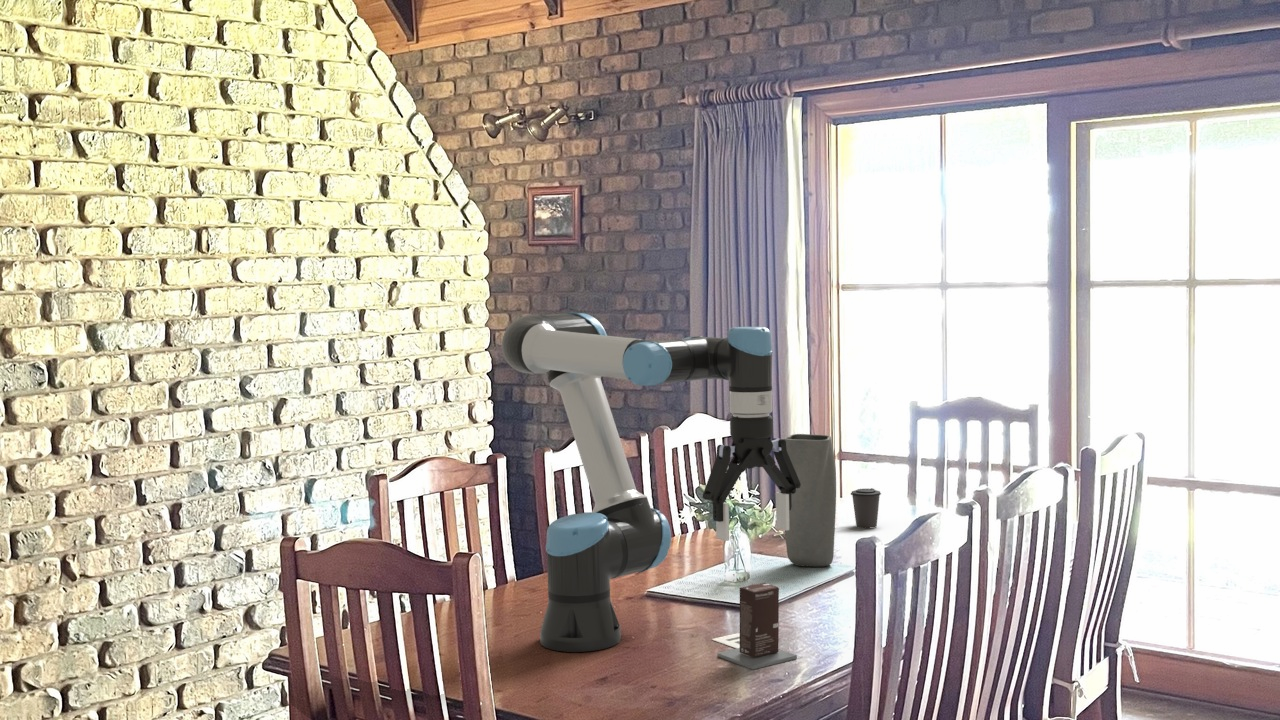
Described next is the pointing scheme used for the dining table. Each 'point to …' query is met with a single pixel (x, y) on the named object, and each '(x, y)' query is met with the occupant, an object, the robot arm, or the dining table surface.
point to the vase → (812, 501)
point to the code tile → (729, 640)
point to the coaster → (756, 658)
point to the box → (759, 620)
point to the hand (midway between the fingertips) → (753, 534)
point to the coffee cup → (866, 507)
